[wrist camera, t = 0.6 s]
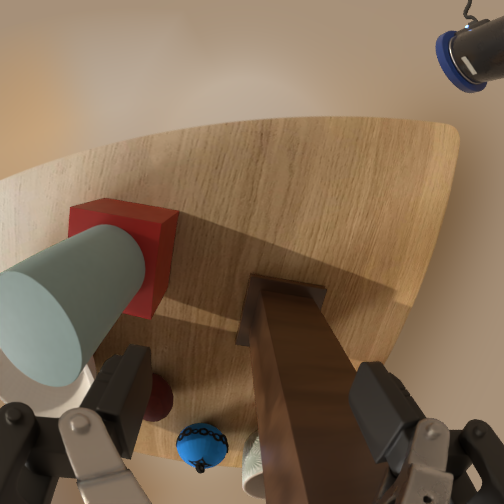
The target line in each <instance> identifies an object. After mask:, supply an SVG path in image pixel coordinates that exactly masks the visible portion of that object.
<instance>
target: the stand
mask: <svg viewBox="0 0 504 504" xmlns="http://www.w3.org/2000/svg"><path fill="white" fill-rule="evenodd" d="M326 291H327V289H326V288H325V286H320V285H314V284H308V283H302V282H297V281H291V280H285V279H280V278H274V277H268V276H263V275H257V274H252V273H251V274H250V278H249V282H248V287H247V291H246V296H245V300H244V305H243V309H242V313H241V318H240V322H239V327H238V331H237V336H236V345H242V346H249V347H250V354H251V364H252V374H253V384H254V394H255V403H256V413H257V423H258V432H259V441H260V451H261V460H262V469H263V478H264V487H265V496H266V504H372V502H373V499H374V497H375V495H376V492H377V490H378V488H379V485H380V483H381V480H382V478H383V475H384V472H385V470H386V468H387V467H388V466H389V465H388V462H384V463H379V464H375V461H374V459H373V457H372V455H371V452H370V450H369V448H368V446H367V443H366V441H365V439H364V437H363V434H362V432H361V430H360V428H359V425H358V423H357V421H356V419H355V417H354V414H353V412H352V410H351V408H350V405H349V401H348V396H349V391H350V388H351V386H352V383H353V381H354V378H355V376H356V373H357V372H356V370H355V369H354V367H353V365H352V363H351V362H350V360H349V358H348V357H347V355H346V353H345V351H344V350H343V348H342V346H341V345H340V343H339V341H338V339H337V338H336V336H335V334H334V333H333V331H332V329H331V328H330V326H329V324H328V323H327V321H326V319H325V317H324V316H323V314H322V312H321V311H320V310H321V307H322V304H323V301H324V298H325V295H326Z"/></svg>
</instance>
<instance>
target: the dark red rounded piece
mask: <svg viewBox="0 0 504 504" xmlns="http://www.w3.org/2000/svg"><path fill="white" fill-rule="evenodd" d="M172 407H173V393H172V390H171V387H170V386H169V384H168V383H167V381H166V380H165V379H163V378H162V377H161V376H159V375H157V374H154V373H152V391H151V395H150V398H149V401H148V404H147V407H146V411H145V414H144V417H143V419H144V420H146V421H151V422H155V421H159V420H161V419H163V418H165V417H166V416H167V415H168V414H169V412H170V411H171V409H172Z"/></svg>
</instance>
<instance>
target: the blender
mask: <svg viewBox="0 0 504 504" xmlns="http://www.w3.org/2000/svg"><path fill="white" fill-rule="evenodd" d="M178 215H179V211H177V210H172V209H166V208H161V207H155V206H149V205H144V204H138V203H132V202H126V201H120V200H114V199H108V198H103V199H99V200H95V201H91V202H87V203H83V204H80V205H76V206H72V207H70V215H69V229H68V239H66V240H64V241H61V242H59V243H57V244H55V245H53V246H51V247H49V248H47V249H45V250H43V251H41V252H39V253H37V254H35V255H33V256H31V257H29V258H27V259H25V260H23V261H22V262H20V263H18V264H16V265H14V266H12V267H10V268H9V269H7V270H5V271H3V272H1V273H0V348H1V349H2V351H3V352H4V353H5V355H6V356H7V357H8V359H9V360H10V361H11V362H12V363H13V364H14V365H15V366H16V367H17V368H18V369H19V370H20V371H21V372H23V373H24V374H25V375H27V376H28V377H30V378H31V379H33V380H35V381H37V382H39V383H41V384H44V385H47V386H52V387H63V386H67V385H69V384H71V383H73V382H74V381H75V380H76V379H77V378H78V377H79V375H80V373H81V372H82V370H83V369H84V367H85V366H86V364H87V363H88V361H89V360H90V358H91V357H92V355H93V354H94V352H95V351H96V349H97V348H98V346H99V345H100V344H101V342H102V341H103V339H104V338H105V336H106V335H107V333H108V332H109V331H110V329H111V328H112V326H113V325H114V324H115V322H116V321H117V319H118V318H119V317H120V315H121V314H122V313H125V314H129V315H133V316H137V317H141V318H146V319H150V320H151V319H152V317H153V315H154V313H155V311H156V309H157V307H158V305H159V303H160V301H161V300H162V298H163V296H164V294H165V292H166V290H167V288H168V284H169V276H170V269H171V261H172V254H173V247H174V240H175V234H176V227H177V221H178Z"/></svg>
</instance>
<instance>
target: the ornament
mask: <svg viewBox="0 0 504 504" xmlns="http://www.w3.org/2000/svg"><path fill="white" fill-rule="evenodd" d="M176 447H177V450H178V453H179V455H180V457H181V458H182V459H183V460H184V461H185V462H186V463H187V464H189V465H191V466H193V467H195V468H196V470H197V472H198V473H204V471H205V469H206V468H210V467H214V466H216V465H217V464H219V463H220V462H221V461H222V460H223V459H224V458H225V455H226V453H228V447H229V446H228V442H227V438H226V436H225V435H224V434H222V433H221V431H220V430H218V429H217V428H216V427H214V426H212V425H209V424H205V423H195V424H192V425H190V426H187V427H186V428H185V429H183V430H182V431H181V433H180V434H179V436H178V438H177V441H176Z"/></svg>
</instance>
